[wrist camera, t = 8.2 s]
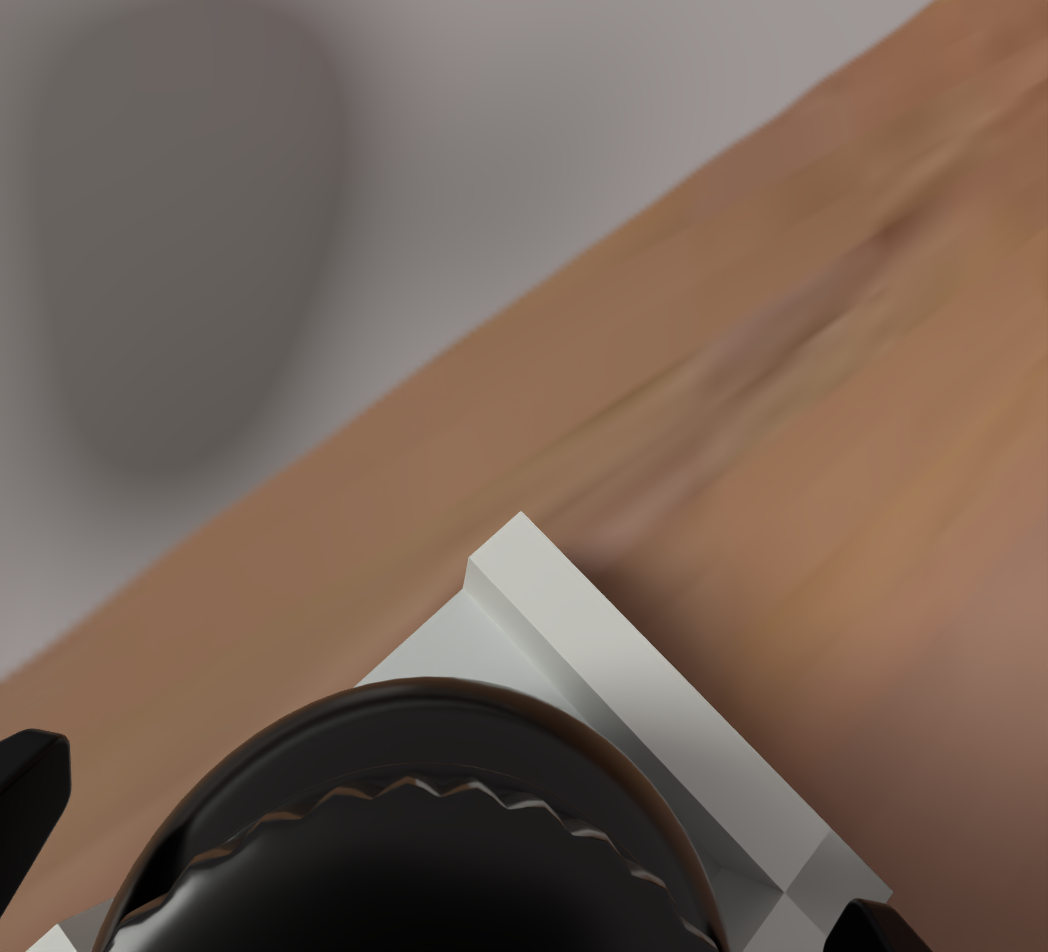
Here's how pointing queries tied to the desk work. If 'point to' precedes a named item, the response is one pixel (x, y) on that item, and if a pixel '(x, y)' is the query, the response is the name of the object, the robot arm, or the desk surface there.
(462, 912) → the supplement bottle
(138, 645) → the desk surface
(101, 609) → the desk surface
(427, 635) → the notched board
